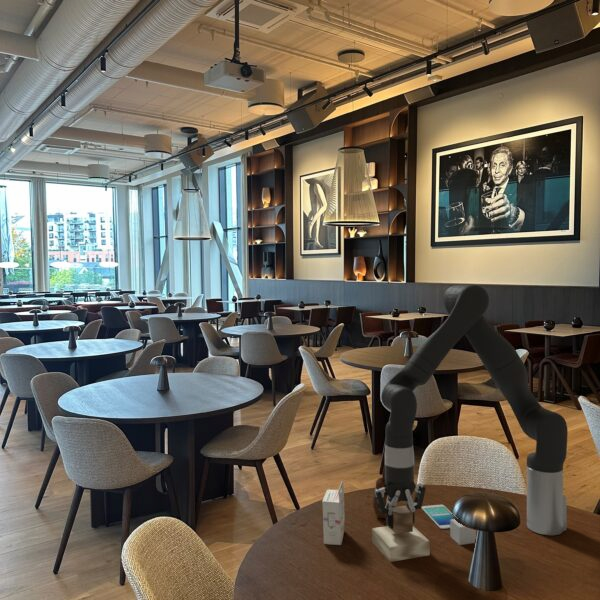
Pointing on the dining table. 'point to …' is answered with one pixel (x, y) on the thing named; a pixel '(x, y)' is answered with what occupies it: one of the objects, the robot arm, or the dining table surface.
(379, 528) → the birch block
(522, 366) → the robot arm
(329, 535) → the ink cartridge box
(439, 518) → the smartphone
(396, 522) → the walnut cube
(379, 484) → the wooden figurine
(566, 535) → the dining table surface
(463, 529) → the grey cube
